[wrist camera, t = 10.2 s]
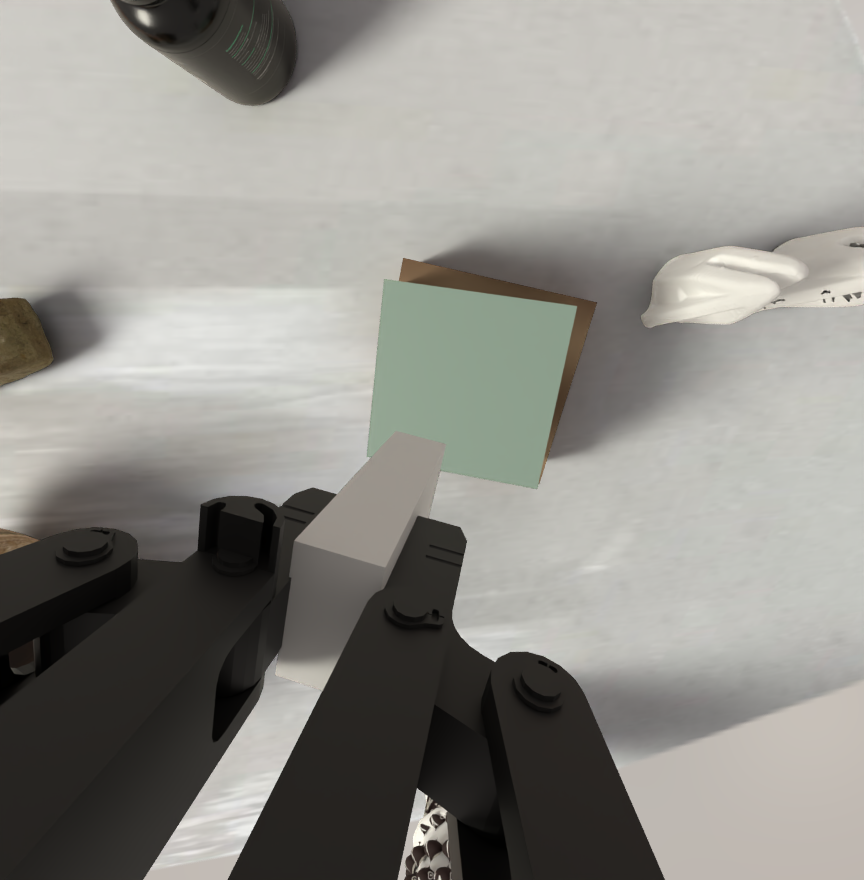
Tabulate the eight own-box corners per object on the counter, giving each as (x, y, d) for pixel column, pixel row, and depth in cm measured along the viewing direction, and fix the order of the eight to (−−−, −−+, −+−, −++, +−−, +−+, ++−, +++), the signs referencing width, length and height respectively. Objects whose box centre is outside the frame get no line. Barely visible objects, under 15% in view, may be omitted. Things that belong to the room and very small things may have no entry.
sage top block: (405, 282, 30) (384, 278, 25) (567, 305, 29) (577, 306, 24) (388, 434, 33) (366, 456, 28) (534, 460, 32) (537, 489, 27)
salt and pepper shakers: (634, 327, 32) (689, 341, 22) (632, 262, 31) (689, 245, 21) (835, 301, 30) (1005, 303, 20) (841, 230, 29) (1024, 192, 19)
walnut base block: (419, 263, 34) (403, 258, 29) (585, 301, 33) (597, 302, 28) (388, 420, 38) (369, 438, 33) (536, 460, 37) (539, 484, 32)
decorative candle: (465, 651, 42) (398, 1098, 19) (556, 703, 42) (605, 1219, 19) (418, 716, 45) (309, 1173, 22) (503, 765, 45) (487, 1277, 22)
